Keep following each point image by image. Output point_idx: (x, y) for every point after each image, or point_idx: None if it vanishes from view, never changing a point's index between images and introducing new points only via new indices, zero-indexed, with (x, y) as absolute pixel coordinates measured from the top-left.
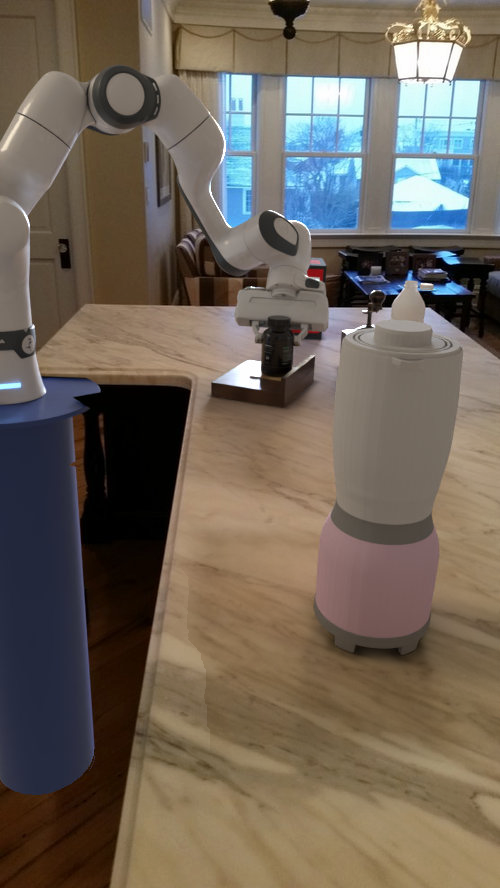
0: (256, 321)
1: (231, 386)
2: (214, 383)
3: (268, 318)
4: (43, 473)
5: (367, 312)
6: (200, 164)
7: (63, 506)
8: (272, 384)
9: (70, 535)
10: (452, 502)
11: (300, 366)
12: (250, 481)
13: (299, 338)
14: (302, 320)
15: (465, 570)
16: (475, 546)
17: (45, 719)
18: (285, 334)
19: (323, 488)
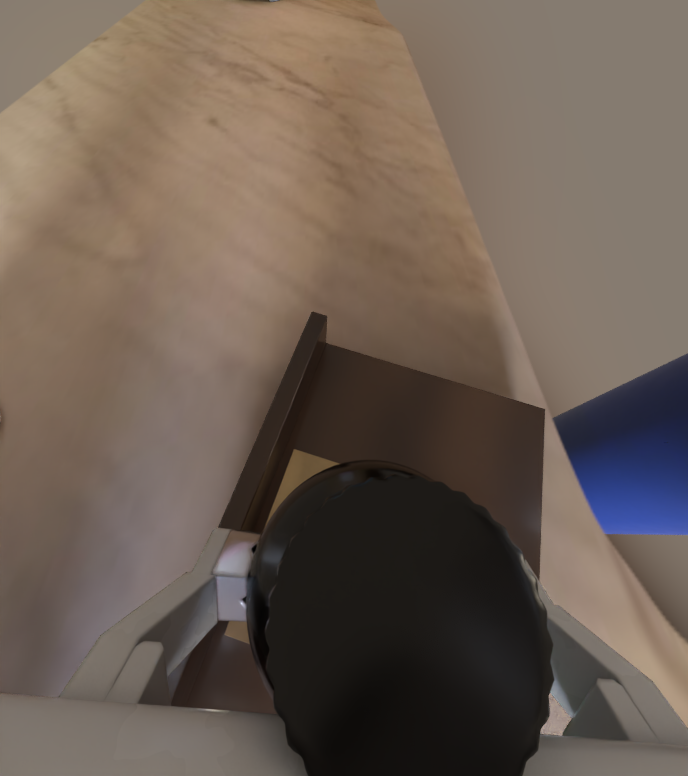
0: (654, 739)
1: (475, 389)
2: (532, 405)
3: (524, 564)
4: (662, 374)
5: None
6: None
7: (601, 419)
8: (353, 415)
9: (566, 441)
10: (106, 74)
11: (244, 472)
12: (354, 109)
13: (212, 549)
14: (97, 716)
15: (159, 9)
16: (130, 26)
17: None
18: (319, 484)
19: (263, 97)
